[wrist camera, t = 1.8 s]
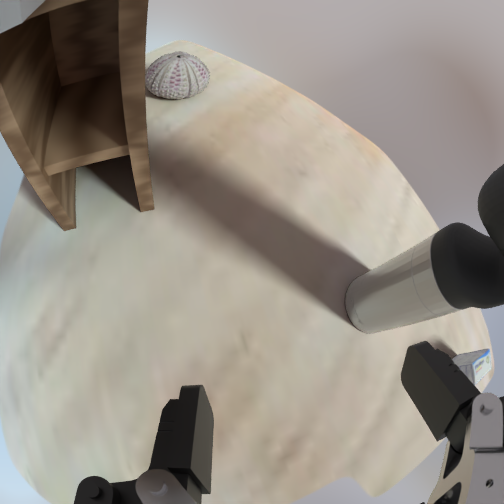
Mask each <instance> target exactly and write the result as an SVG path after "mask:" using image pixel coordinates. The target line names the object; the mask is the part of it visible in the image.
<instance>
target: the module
mask: <svg viewBox="0 0 504 504" xmlns="http://www.w3.org/2000/svg"><path fill="white" fill-rule="evenodd" d="M44 1H45V0H0V33H2V32H4V31H6V30H8V29H10V28H12V27H14V26H17V25H19V24H21V23H23V22H24V21H25V20H26V19H27V18H28V17H29V16H30V15H31V14H32V13H33V12H34V11H35V10H36V9H37V8H38V7H39V6H40V5H41V4H42V3H43V2H44Z"/></svg>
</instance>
